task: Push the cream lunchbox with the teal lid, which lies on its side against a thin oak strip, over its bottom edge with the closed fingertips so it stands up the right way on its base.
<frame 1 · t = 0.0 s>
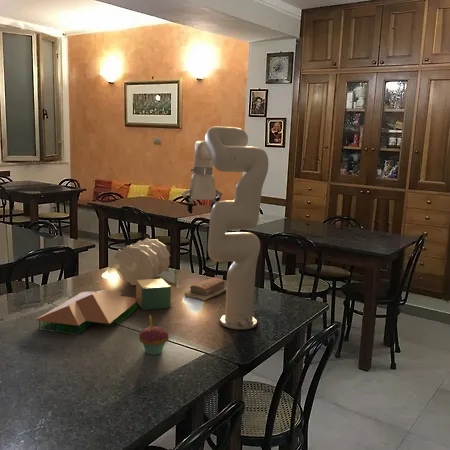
hand: (201, 213, 208), 31 cm above the table, tool pointing down, fingers open, 9 cm apart
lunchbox: (152, 303, 187), on the table
cupcake: (153, 351, 147), on the table
packaged product: (206, 293, 203), on the table
spiral staircase: (143, 280, 217), on the table
house: (93, 317, 172), on the table
oak strip: (147, 298, 193), on the table
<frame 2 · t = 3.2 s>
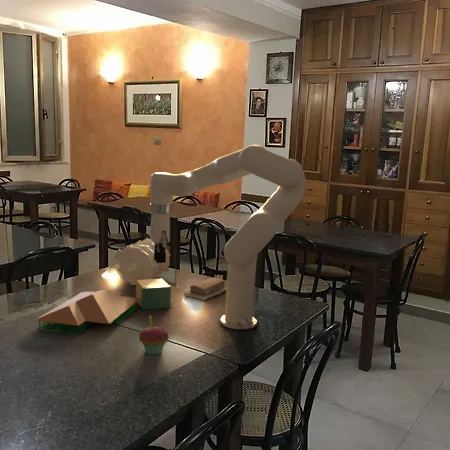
hand: (159, 261, 174), 19 cm above the table, tool pointing down, fingers closed
nothing on the table moved.
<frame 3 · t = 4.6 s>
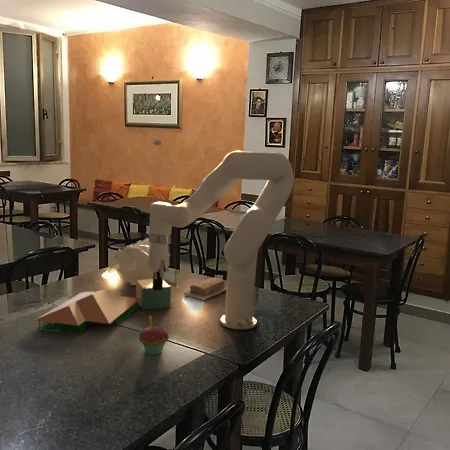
hand: (157, 289, 176), 9 cm above the table, tool pointing down, fingers closed
nothing on the table moved.
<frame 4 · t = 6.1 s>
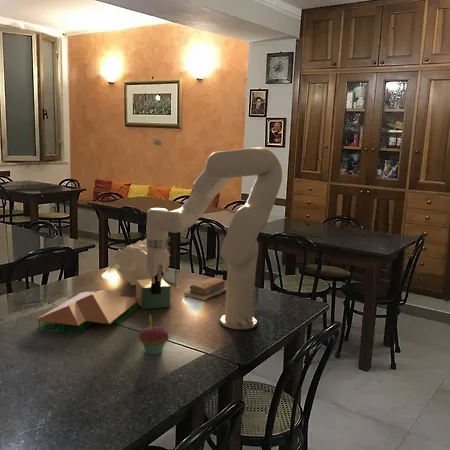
hand: (155, 293, 180), 6 cm above the table, tool pointing down, fingers closed
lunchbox: (152, 303, 187), on the table, touching gripper, oak strip
everything else where it was.
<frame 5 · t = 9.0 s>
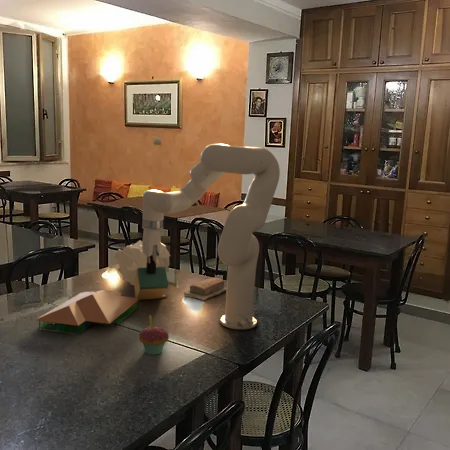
hand: (151, 273, 185), 12 cm above the table, tool pointing down, fingers closed
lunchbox: (151, 293, 188), point 4 cm above the table, tilted 42°, touching gripper, oak strip
everything else where it was.
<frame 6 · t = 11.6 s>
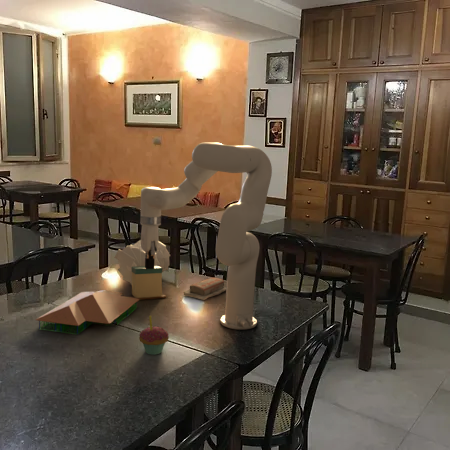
hand: (149, 268, 189), 12 cm above the table, tool pointing down, fingers closed
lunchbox: (149, 282, 191), point 7 cm above the table, tilted 98°, touching oak strip
everything else where it was.
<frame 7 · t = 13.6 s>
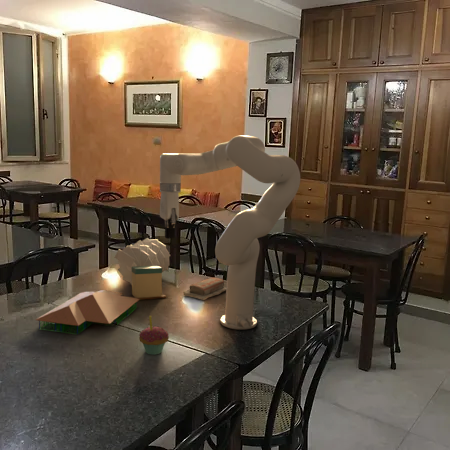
hand: (169, 237, 184), 25 cm above the table, tool pointing down, fingers closed
nothing on the table moved.
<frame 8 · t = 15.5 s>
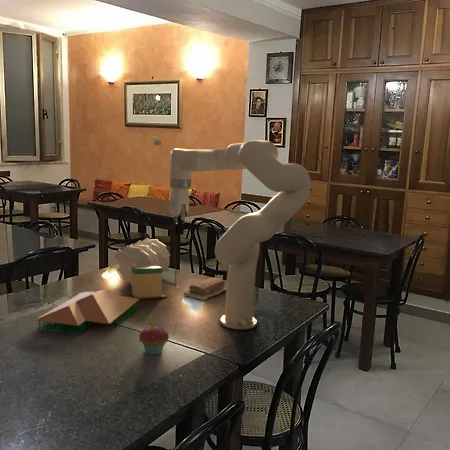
hand: (178, 234, 182), 27 cm above the table, tool pointing down, fingers closed
nothing on the table moved.
at the end: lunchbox tilted 98°; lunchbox inside the target area (0.4 cm from its centre), point 6.5 cm above the table; the gripper is holding nothing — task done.
